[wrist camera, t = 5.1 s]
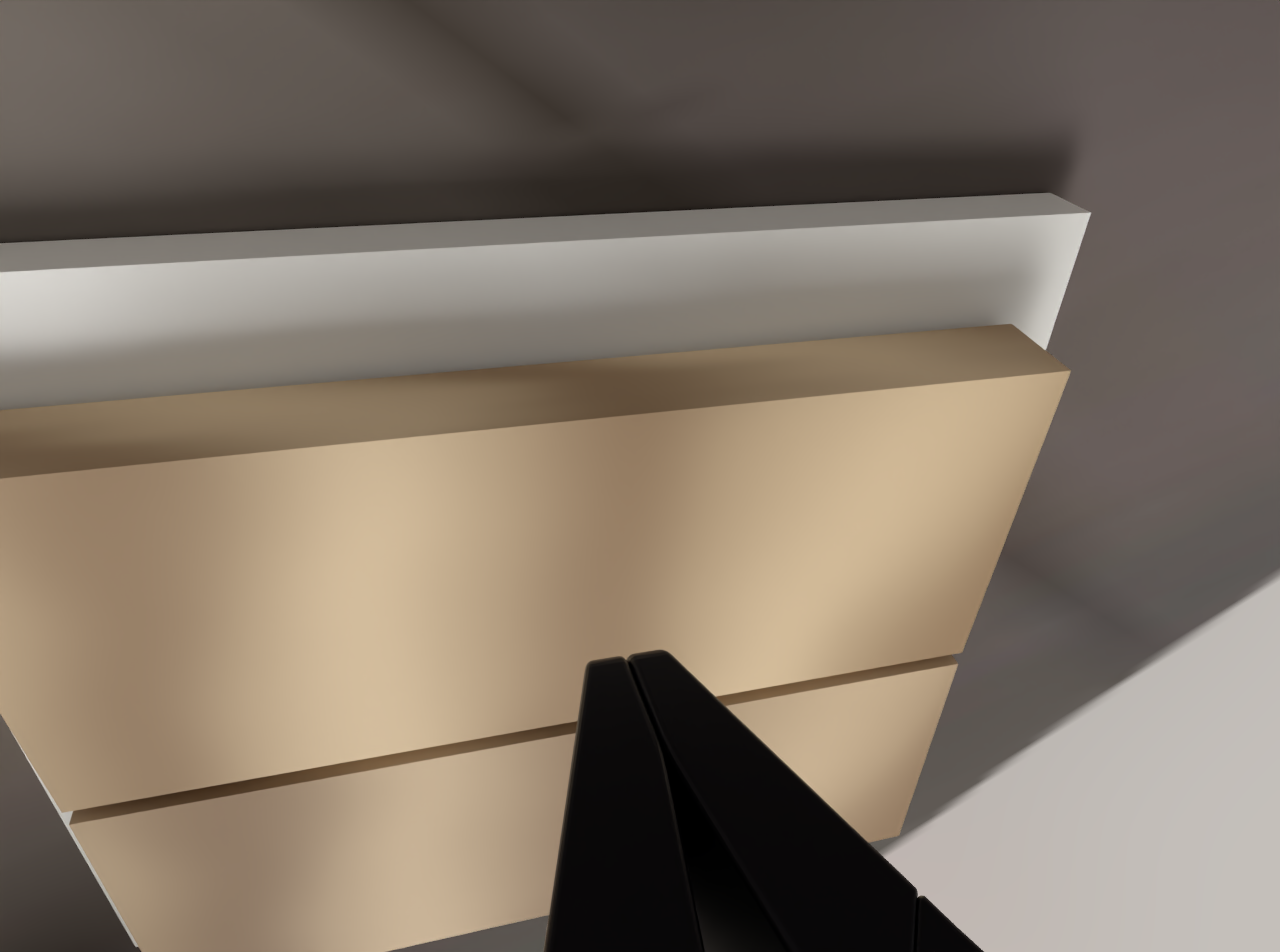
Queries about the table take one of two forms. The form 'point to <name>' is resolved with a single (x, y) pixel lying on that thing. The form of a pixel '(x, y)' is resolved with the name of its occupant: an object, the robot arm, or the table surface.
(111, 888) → the laid plank
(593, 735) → the robot arm
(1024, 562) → the table surface
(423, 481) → the raised plank
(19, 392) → the board
